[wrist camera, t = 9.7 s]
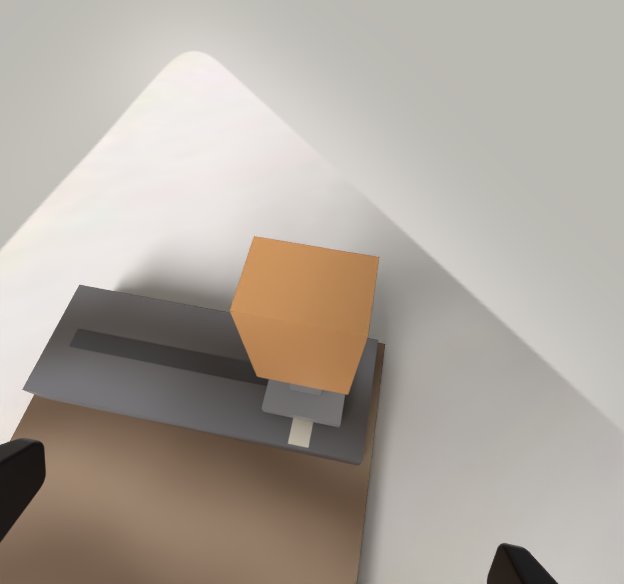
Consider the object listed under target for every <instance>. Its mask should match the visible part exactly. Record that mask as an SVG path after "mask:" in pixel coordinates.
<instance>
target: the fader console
mask: <svg viewBox="0 0 624 584" xmlns="http://www.w3.org/2000/svg"><path fill="white" fill-rule="evenodd" d="M384 349H385V344H382V343H378V340H374V339H369V338H367V341H366V344H365V347H364V349H363V352H362V355H361V358H360V361H359V364H358V367H357V370H356V373H355V376H354V379H353V382H352V385H351V388H350V391H349V394H348V395H347V394H345V399H344V405H343V411H342V417H341V424H340V427H334V426H329V425H325V424H320V423H315V422H310V421H305V420H301V419H296V418H291V417H286V416H281V415H276V414H272V413H267V412H263V410H262V405H263V401H264V397H265V393H266V389H267V385H268V381H269V379H266V378H261V377H257V375H256V373H255V370H254V368H253V366H252V363H251V361H250V358H249V356H248V354H247V351H246V349H245V346H244V344H243V342H242V339H241V337H240V334H239V332H238V330H237V327H236V325H235V322H234V320H233V317H232V315H231V313H229V312H223V311H218V310H212V309H207V308H202V307H196V306H191V305H185V304H180V303H175V302H169V301H164V300H159V299H153V298H148V297H142V296H137V295H132V294H126V293H121V292H115V291H110V290H105V289H99V288H94V287H88V286H83V285H79V287H78V288H77V290H76V292H75V294H74V296H73V298H72V299H71V301H70V303H69V305H68V307H67V309H66V310H65V312H64V314H63V316H62V318H61V320H60V321H59V323H58V325H57V327H56V329H55V331H54V332H53V334H52V336H51V338H50V340H49V342H48V343H47V345H46V347H45V349H44V351H43V353H42V354H41V356H40V358H39V360H38V362H37V364H36V365H35V367H34V369H33V371H32V373H31V375H30V376H29V378H28V380H27V382H26V384H25V386H24V387H23V389H22V390H25V391H27V392H30V393H32V394H34V396H33V398H32V400H31V402H30V404H29V406H28V408H27V410H26V411H25V413H24V415H23V417H22V419H21V421H20V423H19V425H18V427H17V429H16V430H15V432H14V434H13V436H12V438H11V440H10V441H13V440H15V439H18V438H29V439H33V440H38V441H40V442H42V443H43V445H44V448H45V464H46V477H45V480H44V483H43V485H42V487H41V488H40V490H39V491H38V492H37V494H36V495H35V497H34V498H33V499H32V501H31V502H30V503H29V505H28V506H27V507H26V509H25V510H24V511H23V513H22V514H21V516H20V517H19V518H18V520H17V521H16V522H15V524H14V525H13V526H12V528H11V529H10V530H9V532H8V533H7V535H6V536H5V537H4V539H3V540H2V541H1V543H0V584H357V576H358V567H359V559H360V551H361V542H362V534H363V525H364V517H365V509H366V500H367V492H368V483H369V475H370V467H371V458H372V450H373V441H374V433H375V425H376V416H377V408H378V399H379V391H380V383H381V374H382V366H383V358H384Z"/></svg>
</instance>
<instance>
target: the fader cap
mask: <svg viewBox="0 0 624 584" xmlns="http://www.w3.org/2000/svg"><path fill="white" fill-rule="evenodd" d="M378 263H379V257H375V256H369V255H363V254H357V253H351V252H345V251H339V250H333V249H327V248H321V247H315V246H309V245H303V244H297V243H291V242H285V241H279V240H273V239H267V238H261V237H255V236H254V238H253V241H252V244H251V247H250V250H249V253H248V256H247V259H246V262H245V265H244V268H243V271H242V274H241V277H240V281H239V284H238V287H237V290H236V293H235V296H234V299H233V302H232V305H231V308H230V313H231V315H232V317H233V320H234V322H235V325H236V327H237V330H238V332H239V334H240V337H241V339H242V342H243V344H244V346H245V349H246V351H247V354H248V356H249V358H250V361H251V363H252V366H253V368H254V370H255V373H256V375H257V377H261V378H266V379H269V381H268V385H267V389H266V393H265V397H264V401H263V405H262V410H263V412H267V413H272V414H276V415H281V416H286V417H291V418H296V419H301V420H305V421H310V422H315V423H320V424H325V425H329V426H334V427H340V424H341V417H342V411H343V405H344V399H345V394H347V395H348V394H349V391H350V388H351V385H352V382H353V379H354V376H355V373H356V370H357V367H358V364H359V361H360V358H361V355H362V352H363V349H364V347H365V344H366V341H367V338H368V333H369V326H370V319H371V312H372V305H373V298H374V291H375V284H376V277H377V270H378Z"/></svg>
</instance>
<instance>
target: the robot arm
mask: <svg viewBox="0 0 624 584" xmlns="http://www.w3.org/2000/svg"><path fill="white" fill-rule="evenodd" d="M45 477H46V464H45V448H44V445H43V443H42V442H40V441H38V440H33V439H29V438H18V439H15V440H13V441H10V442H7V443H4V444H1V445H0V543H1V541H2V540H3V539H4V537H5V536H6V535H7V533H8V532H9V530H10V529H11V528H12V526H13V525H14V524H15V522H16V521H17V520H18V518H19V517H20V516H21V514H22V513H23V511H24V510H25V509H26V507H27V506H28V505H29V503H30V502H31V501H32V499H33V498H34V497H35V495H36V494H37V492H38V491H39V490H40V488H41V487H42V485H43V483H44V480H45ZM487 584H558V583H557V582H556V581H555V580H554V579H553V577H552V576H551V575H550V574H549V573H548V572H547V571H546V570H545V569H544V568H543V567H542V565H541V564H540V563H539V562H538V561H537V560H536V559H535V558H534V557H533V556H532V555H531V553H530V552H529V551H528V550H526V549H525V548H523V547H520V546H516V545H511V544H507V543H502V544H500V545H499V546H498V548H497V551H496V554H495V557H494V559H493V562H492V565H491V568H490V570H489V573H488V577H487Z"/></svg>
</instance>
